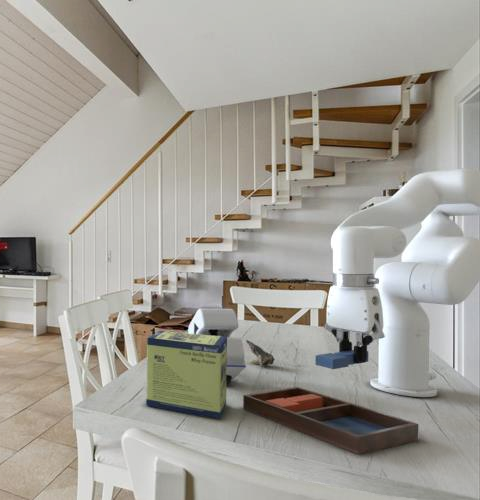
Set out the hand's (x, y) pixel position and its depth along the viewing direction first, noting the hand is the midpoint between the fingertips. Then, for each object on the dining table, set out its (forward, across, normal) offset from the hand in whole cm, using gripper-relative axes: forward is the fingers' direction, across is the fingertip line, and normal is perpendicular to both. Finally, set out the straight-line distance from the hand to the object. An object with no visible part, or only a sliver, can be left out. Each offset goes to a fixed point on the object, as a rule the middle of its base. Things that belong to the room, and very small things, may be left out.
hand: (352, 360), depth 110 cm
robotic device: (+9, +25, +16) cm, 31 cm away
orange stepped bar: (+8, -1, +20) cm, 22 cm away
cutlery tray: (+9, -7, +20) cm, 23 cm away
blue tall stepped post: (0, 0, +3) cm, 3 cm away
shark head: (+10, +31, -7) cm, 33 cm away
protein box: (+9, +11, +38) cm, 41 cm away
